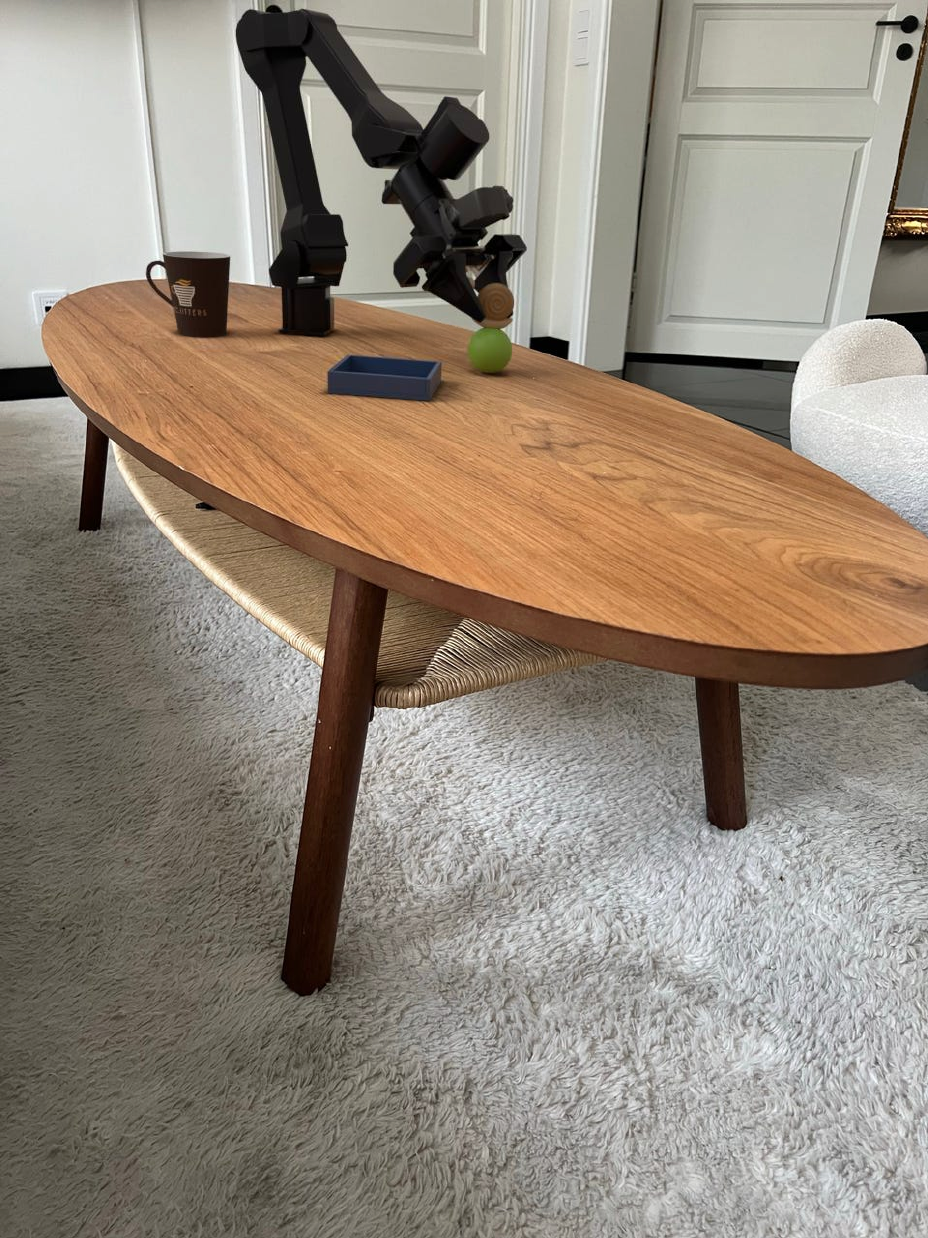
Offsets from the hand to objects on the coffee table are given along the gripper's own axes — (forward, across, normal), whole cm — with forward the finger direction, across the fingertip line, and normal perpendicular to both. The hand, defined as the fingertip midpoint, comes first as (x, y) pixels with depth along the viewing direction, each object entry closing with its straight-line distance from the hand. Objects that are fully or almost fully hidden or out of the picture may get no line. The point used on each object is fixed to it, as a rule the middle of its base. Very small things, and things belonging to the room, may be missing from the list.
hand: (496, 318), depth 107 cm
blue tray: (+3, -16, +6) cm, 17 cm away
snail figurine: (+4, 0, +6) cm, 7 cm away
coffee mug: (-25, -13, +35) cm, 45 cm away
